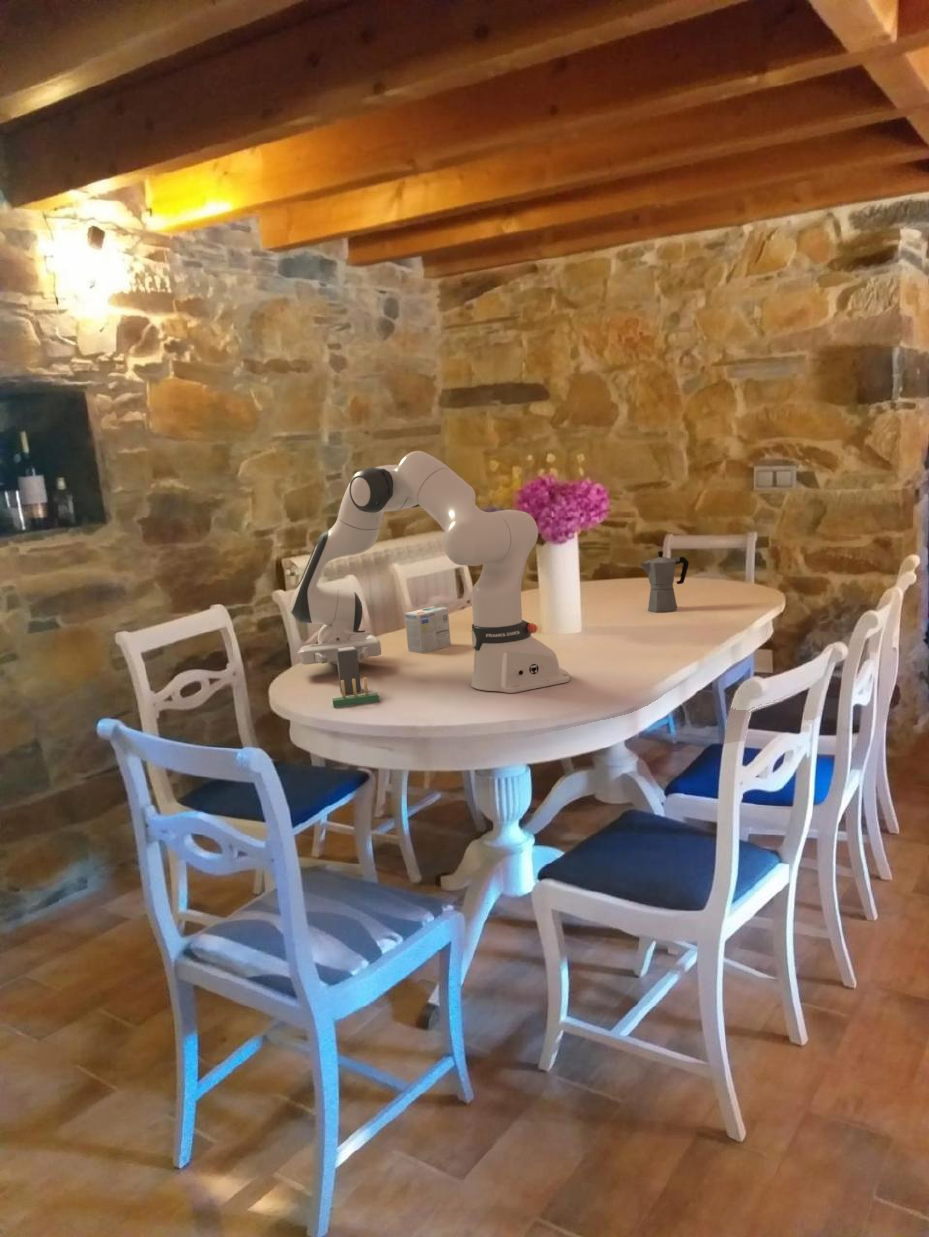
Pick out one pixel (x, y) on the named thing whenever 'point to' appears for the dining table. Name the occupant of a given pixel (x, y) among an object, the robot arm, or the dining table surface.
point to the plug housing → (348, 668)
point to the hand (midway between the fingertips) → (343, 657)
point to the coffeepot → (663, 582)
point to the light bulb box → (427, 629)
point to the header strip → (355, 696)
